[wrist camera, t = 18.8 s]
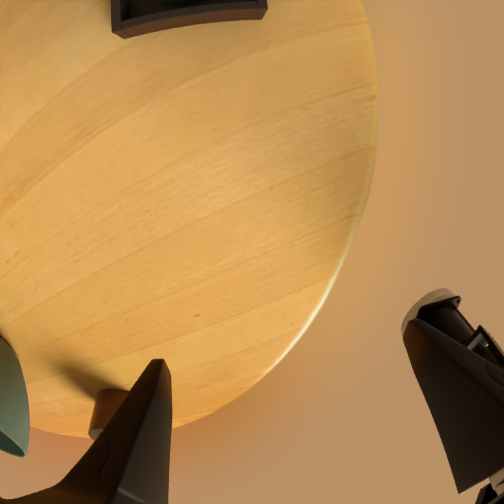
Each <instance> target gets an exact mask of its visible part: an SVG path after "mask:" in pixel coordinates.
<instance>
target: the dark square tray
mask: <svg viewBox="0 0 504 504" xmlns="http://www.w3.org/2000/svg"><path fill="white" fill-rule="evenodd" d="M267 9H268V6H267V0H204V1H201V2H197V3H194V4H188V5H170V4H165V3H162V2H159V1H157V0H111V25H112V33H114V34H116V35H118V36H119V37H121V38H123V39H127V38H130V37H134V36H138V35H142V34H147V33H151V32H156V31H161V30H166V29H171V28H177V27H183V26H189V25H196V24H204V23H213V22H223V21H237V20H261V19H262V18H263V16H264V15H265V13H266V11H267Z"/></svg>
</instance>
